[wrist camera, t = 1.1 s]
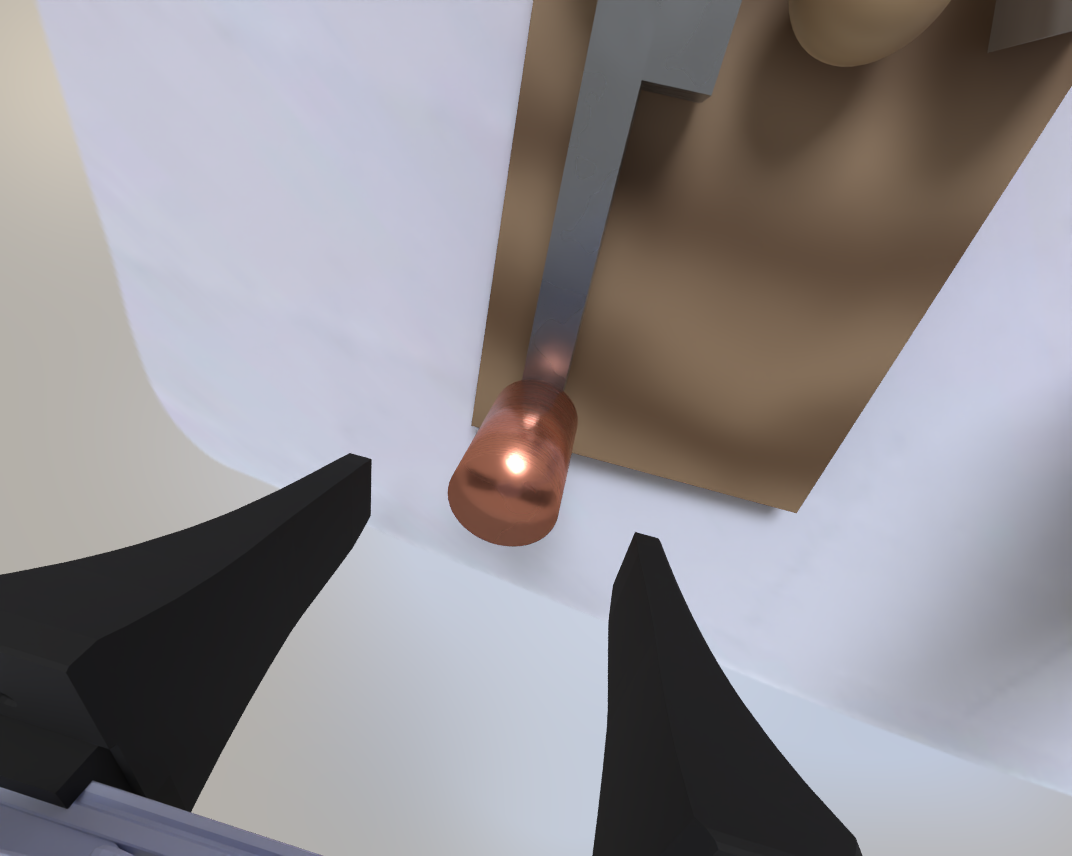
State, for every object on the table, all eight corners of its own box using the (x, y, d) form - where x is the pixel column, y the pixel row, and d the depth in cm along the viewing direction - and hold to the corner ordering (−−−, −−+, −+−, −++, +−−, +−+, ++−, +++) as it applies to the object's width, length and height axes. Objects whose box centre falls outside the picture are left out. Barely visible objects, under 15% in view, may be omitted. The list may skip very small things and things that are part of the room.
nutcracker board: (597, -349, 12) (570, -672, 7) (1234, -239, 11) (1674, -524, 6) (480, 410, 23) (441, 476, 19) (787, 492, 23) (826, 582, 18)
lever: (623, -337, 11) (601, -1080, 4) (826, -302, 11) (1133, -1036, 4) (495, 408, 21) (430, 525, 15) (596, 435, 21) (576, 567, 14)
